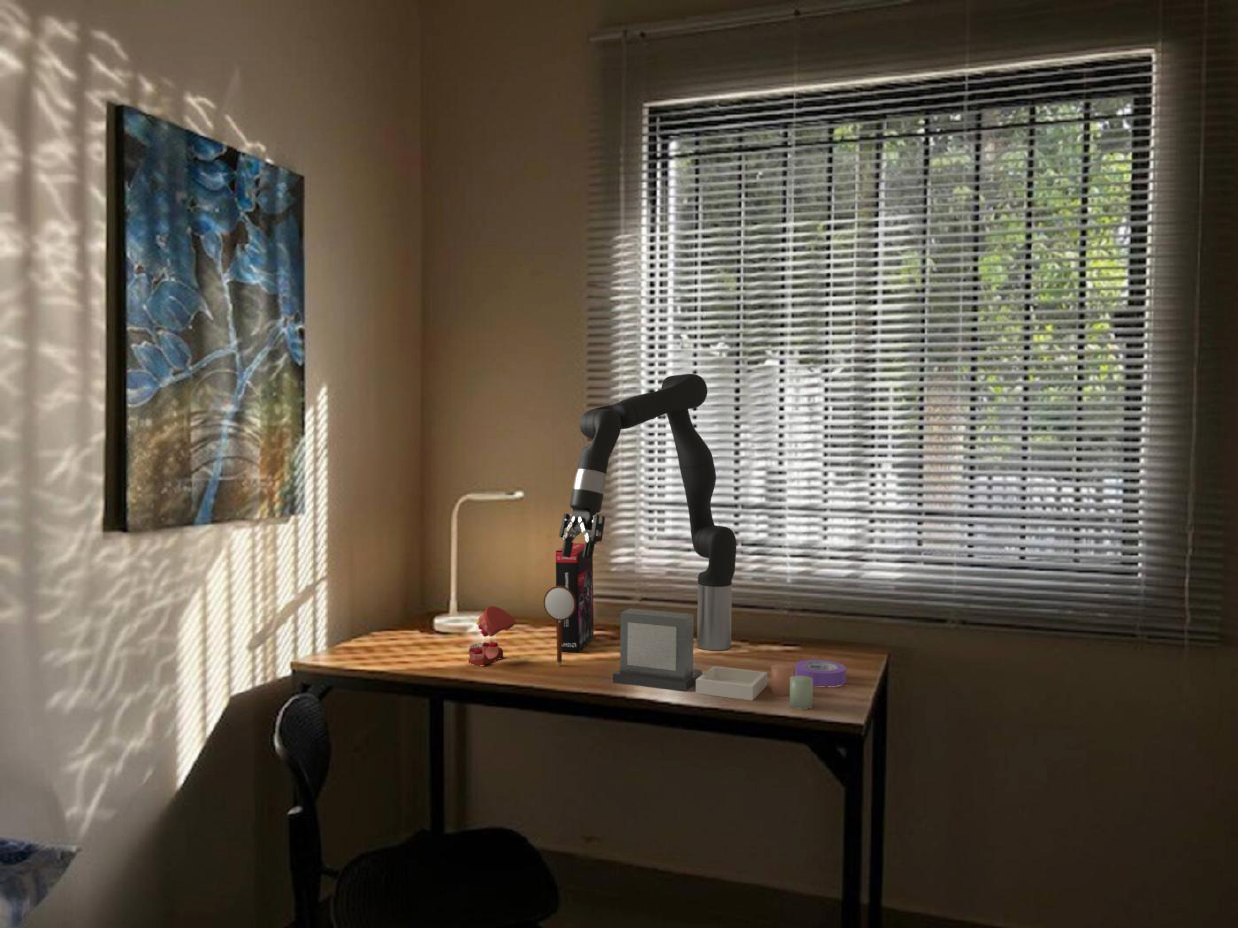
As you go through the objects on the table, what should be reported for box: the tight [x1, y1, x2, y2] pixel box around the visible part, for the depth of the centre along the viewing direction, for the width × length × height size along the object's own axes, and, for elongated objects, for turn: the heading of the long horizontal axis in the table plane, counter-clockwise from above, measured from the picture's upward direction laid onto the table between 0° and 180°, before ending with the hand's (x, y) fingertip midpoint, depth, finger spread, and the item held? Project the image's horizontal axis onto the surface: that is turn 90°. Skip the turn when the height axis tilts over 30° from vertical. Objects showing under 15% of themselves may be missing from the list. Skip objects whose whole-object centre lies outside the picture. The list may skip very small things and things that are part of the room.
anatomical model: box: [467, 605, 517, 666], centre depth 228 cm, size 10×8×15 cm
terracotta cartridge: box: [770, 663, 794, 697], centre depth 202 cm, size 5×5×6 cm
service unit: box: [612, 607, 703, 692], centre depth 212 cm, size 12×18×16 cm, turn 67°
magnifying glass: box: [543, 585, 576, 667], centre depth 224 cm, size 9×2×20 cm, turn 71°
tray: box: [695, 665, 768, 701], centre depth 205 cm, size 13×13×3 cm
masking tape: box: [794, 659, 847, 687], centre depth 213 cm, size 12×12×4 cm
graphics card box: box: [555, 542, 595, 653], centre depth 246 cm, size 17×7×27 cm, turn 168°
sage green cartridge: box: [789, 675, 814, 709], centre depth 193 cm, size 5×5×6 cm
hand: (576, 557), depth 212 cm, fingers open, 8 cm apart
